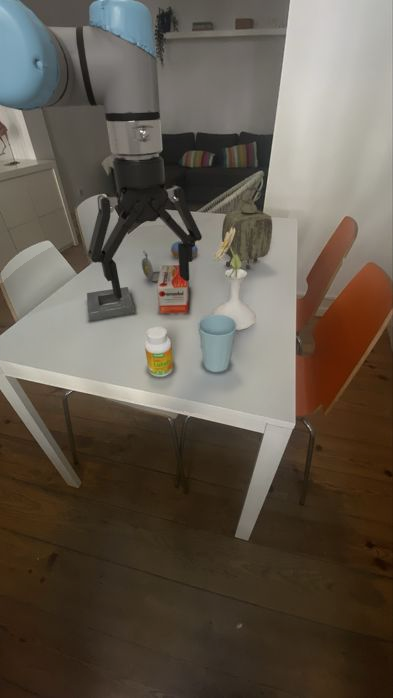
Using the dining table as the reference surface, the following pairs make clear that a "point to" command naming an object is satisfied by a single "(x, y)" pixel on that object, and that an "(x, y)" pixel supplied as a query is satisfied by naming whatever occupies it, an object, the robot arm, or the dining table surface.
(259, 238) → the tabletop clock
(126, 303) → the bottle stand
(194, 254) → the doughnut
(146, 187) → the robot arm
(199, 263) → the dining table surface
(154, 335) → the supplement bottle
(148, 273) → the pocket watch
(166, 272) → the medicine box
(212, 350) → the cup
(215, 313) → the flower in vase
